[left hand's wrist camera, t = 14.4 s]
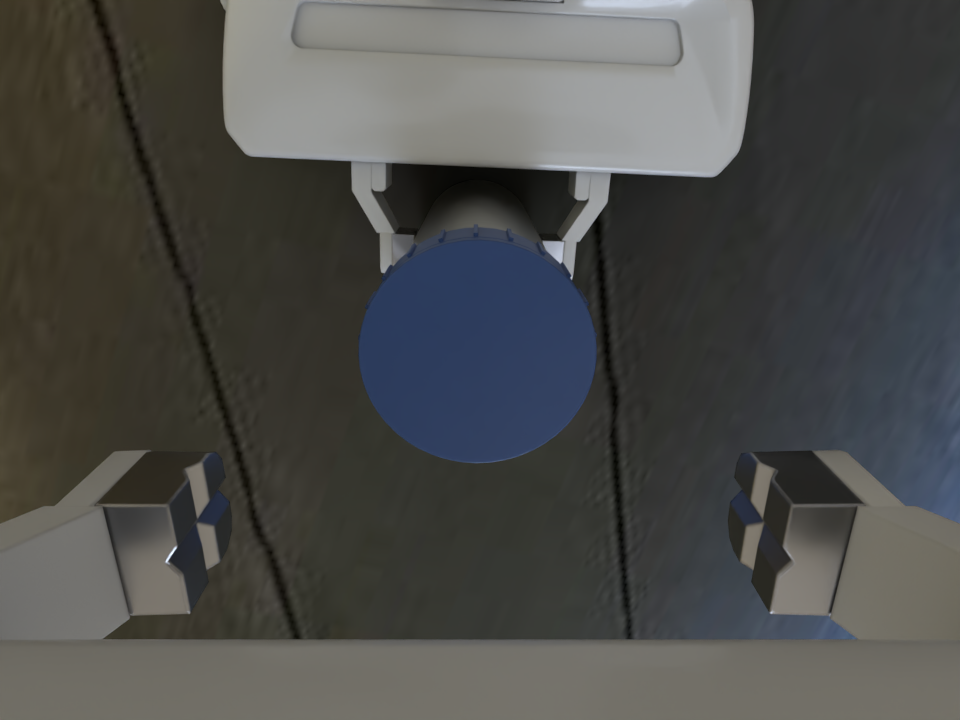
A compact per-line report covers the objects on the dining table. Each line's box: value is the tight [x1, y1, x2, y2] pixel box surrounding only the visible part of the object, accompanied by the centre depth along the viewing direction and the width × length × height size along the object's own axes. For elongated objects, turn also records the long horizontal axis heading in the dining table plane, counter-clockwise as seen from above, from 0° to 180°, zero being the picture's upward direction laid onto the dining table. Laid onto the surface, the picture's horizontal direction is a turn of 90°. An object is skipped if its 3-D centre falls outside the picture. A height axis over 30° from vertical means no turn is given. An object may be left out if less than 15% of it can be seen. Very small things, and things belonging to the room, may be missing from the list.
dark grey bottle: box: [408, 180, 547, 251], centre depth 25 cm, size 5×5×18 cm
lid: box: [358, 224, 597, 463], centre depth 17 cm, size 6×6×2 cm
